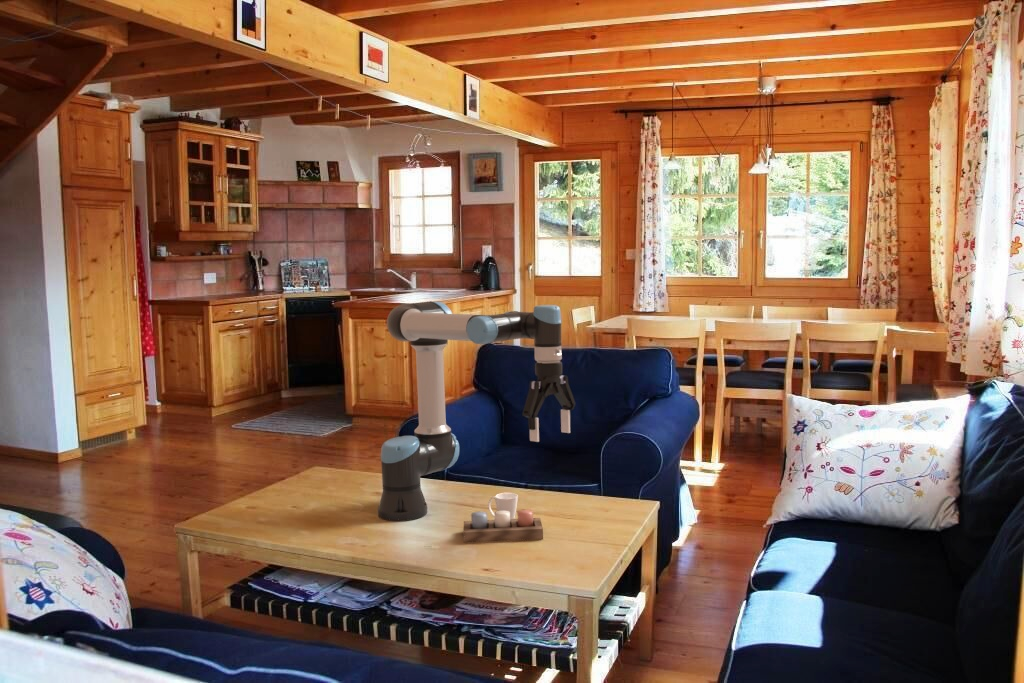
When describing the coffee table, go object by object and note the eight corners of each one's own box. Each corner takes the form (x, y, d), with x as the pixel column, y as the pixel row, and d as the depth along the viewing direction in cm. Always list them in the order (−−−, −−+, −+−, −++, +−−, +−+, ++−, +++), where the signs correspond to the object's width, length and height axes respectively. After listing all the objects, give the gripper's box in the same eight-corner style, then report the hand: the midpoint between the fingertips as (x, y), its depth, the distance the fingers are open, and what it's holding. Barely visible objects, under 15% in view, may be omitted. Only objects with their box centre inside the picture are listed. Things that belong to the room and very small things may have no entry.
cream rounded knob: (495, 529, 244) (494, 515, 243) (494, 524, 248) (494, 510, 248) (510, 528, 244) (510, 514, 243) (510, 523, 248) (509, 510, 248)
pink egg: (518, 528, 244) (517, 514, 243) (517, 523, 248) (517, 509, 248) (533, 527, 244) (533, 513, 244) (532, 522, 248) (532, 509, 248)
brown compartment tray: (463, 542, 241) (463, 532, 240) (464, 531, 251) (463, 521, 250) (543, 539, 242) (542, 528, 241) (540, 527, 252) (540, 517, 251)
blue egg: (471, 530, 243) (471, 516, 243) (471, 525, 248) (471, 511, 247) (487, 529, 244) (487, 515, 243) (487, 524, 248) (486, 511, 247)
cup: (510, 527, 253) (509, 500, 252) (482, 522, 259) (481, 495, 258) (523, 520, 259) (522, 494, 258) (496, 515, 264) (495, 489, 264)
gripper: (528, 367, 229) (531, 446, 231) (586, 357, 247) (588, 430, 249) (507, 365, 234) (510, 443, 236) (566, 355, 252) (568, 427, 255)
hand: (550, 436), depth 243 cm, fingers open, 13 cm apart
